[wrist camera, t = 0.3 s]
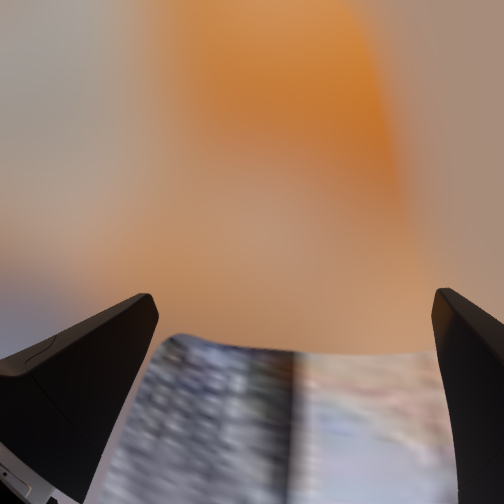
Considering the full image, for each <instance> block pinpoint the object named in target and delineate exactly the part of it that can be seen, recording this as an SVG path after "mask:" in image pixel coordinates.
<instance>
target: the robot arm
mask: <svg viewBox="0 0 504 504" xmlns="http://www.w3.org/2000/svg"><path fill="white" fill-rule="evenodd" d="M431 318H432V325H433V331H434V337H435V343H436V350H437V357H438V363H439V368H440V372H441V376H442V381H443V385H444V390H445V395H446V400H447V405H448V410H449V416H450V422H451V428H452V435H453V442H454V449H455V458H456V468H457V481H458V490H459V491H458V504H504V324H502V323H501V322H500V321H498V320H497V319H495V318H494V317H493V316H491V315H490V314H488V313H487V312H485V311H484V310H482V309H481V308H479V307H478V306H477V305H475V304H474V303H472V302H471V301H469V300H468V299H466V298H465V297H463V296H461V295H460V294H458V293H457V292H455V291H454V290H452V289H450V288H439V289H437V291H436V293H435V298H434V303H433V308H432V314H431ZM158 319H159V313H158V310H157V308H156V305H155V303H154V300H153V297H152V296H151V295H150V294H148V293H139V294H137V295H135V296H133V297H131V298H129V299H127V300H124V301H123V302H120V303H118V304H116V305H114V306H112V307H110V308H108V309H106V310H104V311H102V312H100V313H98V314H96V315H94V316H92V317H90V318H88V319H86V320H84V321H82V322H80V323H78V324H76V325H74V326H72V327H70V328H68V329H66V330H64V331H62V332H60V333H58V335H57V334H56V335H54V336H52V337H50V338H48V339H46V340H44V341H42V342H40V343H38V344H35V345H33V346H31V347H29V348H27V349H24V350H22V351H20V352H17V353H15V354H13V355H11V356H8V357H6V358H4V359H1V360H0V504H58V503H57V500H56V499H54V498H53V497H52V496H51V495H52V493H53V492H54V490H55V488H56V489H58V490H59V491H61V492H62V493H64V494H65V495H67V496H68V497H70V498H71V499H73V500H75V501H76V502H78V503H79V504H83V502H84V500H85V498H86V495H87V492H88V490H89V487H90V484H91V482H92V479H93V477H94V474H95V472H96V469H97V467H98V464H99V461H100V459H101V455H102V454H103V451H104V448H105V446H106V444H107V441H108V439H109V436H110V434H111V432H112V429H113V427H114V424H115V422H116V420H117V418H118V415H119V413H120V411H121V409H122V406H123V404H124V402H125V399H126V397H127V395H128V393H129V391H130V389H131V386H132V384H133V382H134V380H135V378H136V375H137V373H138V371H139V369H140V367H141V364H142V363H143V360H144V358H145V356H146V353H147V350H148V348H149V345H150V342H151V339H152V336H153V333H154V331H155V328H156V325H157V323H158Z"/></svg>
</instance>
